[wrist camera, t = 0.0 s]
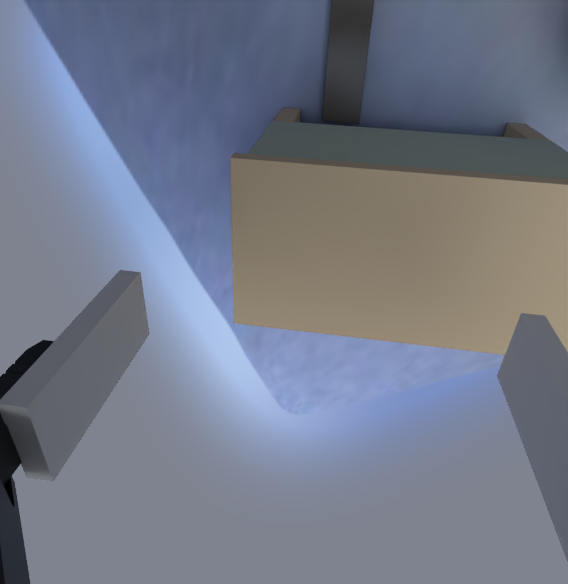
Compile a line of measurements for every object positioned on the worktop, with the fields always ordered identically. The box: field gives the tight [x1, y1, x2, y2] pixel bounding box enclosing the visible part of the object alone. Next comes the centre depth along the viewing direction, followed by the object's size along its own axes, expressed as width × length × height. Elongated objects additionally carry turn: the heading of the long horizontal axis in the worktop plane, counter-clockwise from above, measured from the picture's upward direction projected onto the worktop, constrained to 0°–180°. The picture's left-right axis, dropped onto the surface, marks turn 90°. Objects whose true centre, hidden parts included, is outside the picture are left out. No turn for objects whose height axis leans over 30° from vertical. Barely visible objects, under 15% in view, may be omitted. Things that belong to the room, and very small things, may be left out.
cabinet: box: [230, 108, 568, 355], centre depth 34 cm, size 12×21×18 cm, turn 88°
